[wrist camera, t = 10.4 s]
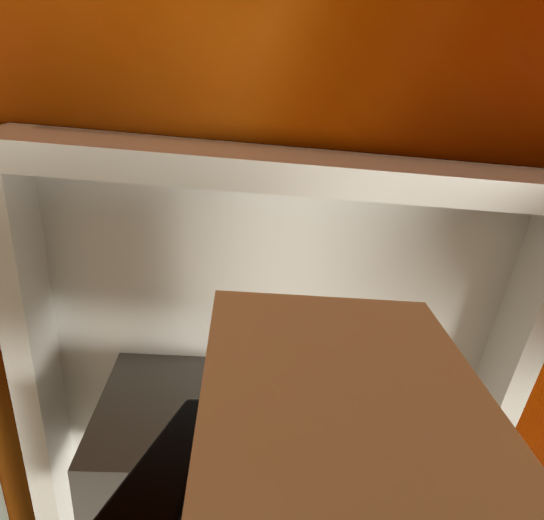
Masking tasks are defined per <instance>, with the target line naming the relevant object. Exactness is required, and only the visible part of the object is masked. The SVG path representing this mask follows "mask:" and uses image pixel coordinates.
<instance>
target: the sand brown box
mask: <svg viewBox="0 0 544 520" xmlns="http://www.w3.org/2000/svg"><path fill="white" fill-rule="evenodd" d="M181 520H544V467H543V466H542V464H541V463H540V462H539V460H538V459H537V458H536V456H535V455H534V453H533V452H532V451H531V449H530V448H529V446H528V445H527V444H526V442H525V441H524V439H523V438H522V437H521V435H520V434H519V432H518V431H517V430H516V428H515V427H514V425H513V424H512V423H511V421H510V420H509V419H508V417H507V416H506V414H505V413H504V412H503V410H502V409H501V407H500V406H499V405H498V403H497V402H496V400H495V399H494V398H493V396H492V395H491V393H490V392H489V391H488V389H487V388H486V386H485V385H484V384H483V382H482V381H481V380H480V378H479V377H478V375H477V374H476V373H475V371H474V370H473V368H472V367H471V366H470V364H469V363H468V361H467V360H466V359H465V357H464V356H463V354H462V353H461V352H460V350H459V349H458V347H457V346H456V345H455V343H454V342H453V340H452V339H451V338H450V336H449V335H448V334H447V332H446V331H445V329H444V328H443V327H442V325H441V324H440V322H439V321H438V320H437V318H436V317H435V315H434V314H433V313H432V311H431V310H430V308H429V307H428V306H427V304H426V303H425V302H411V301H394V300H377V299H360V298H343V297H326V296H309V295H291V294H274V293H257V292H240V291H223V290H215V296H214V303H213V310H212V317H211V323H210V330H209V337H208V344H207V350H206V357H205V364H204V371H203V377H202V384H201V391H200V398H199V404H198V411H197V418H196V425H195V431H194V438H193V445H192V452H191V458H190V465H189V472H188V479H187V485H186V492H185V499H184V506H183V512H182V519H181Z"/></svg>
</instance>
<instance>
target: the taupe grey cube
mask: <svg viewBox="0 0 544 520" xmlns="http://www.w3.org/2000/svg"><path fill="white" fill-rule="evenodd" d="M204 364H205V357H202V356H180V355H158V354H137V353H119V355H118V358H117V360H116V362H115V364H114V367H113V369H112V371H111V373H110V376H109V378H108V380H107V383H106V385H105V387H104V389H103V392H102V394H101V396H100V398H99V401H98V403H97V405H96V407H95V410H94V412H93V414H92V417H91V419H90V421H89V423H88V426H87V428H86V430H85V432H84V435H83V437H82V439H81V441H80V444H79V446H78V448H77V450H76V453H75V455H74V457H73V460H72V462H71V464H70V466H69V469H68V471H67V472H68V479H69V486H70V493H71V500H72V506H73V513H74V520H93V519H94V517H95V516H96V515H97V514H98V512H99V511H100V510H101V508H102V507H103V506H104V505H105V503H106V502H107V501H108V499H109V498H110V497H111V496H112V494H113V493H114V492H115V490H116V489H117V488H118V487H119V485H120V484H121V483H122V481H123V480H124V479H125V477H126V476H127V475H128V474H129V472H130V471H131V470H132V468H133V467H134V466H135V465H136V463H137V462H138V461H139V459H140V458H141V457H142V456H143V454H144V453H145V452H146V450H147V449H148V448H149V447H150V445H151V444H152V443H153V441H154V440H155V439H156V438H157V436H158V435H159V434H160V432H161V431H162V430H163V429H164V427H165V426H166V425H167V423H168V422H169V421H170V419H171V418H172V417H173V416H174V414H175V413H176V412H177V410H178V409H179V408H180V407H181V405H182V404H183V403H184V402H185V400H187V399H189V398H196V399H199V398H200V391H201V384H202V377H203V371H204Z"/></svg>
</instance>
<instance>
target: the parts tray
mask: <svg viewBox="0 0 544 520" xmlns="http://www.w3.org/2000/svg"><path fill="white" fill-rule="evenodd" d="M215 290H223V291H240V292H257V293H274V294H291V295H309V296H326V297H343V298H360V299H377V300H394V301H411V302H425V303H426V304H427V306H428V307H429V308H430V310H431V311H432V313H433V314H434V315H435V317H436V318H437V320H438V321H439V322H440V324H441V325H442V327H443V328H444V329H445V331H446V332H447V334H448V335H449V336H450V338H451V339H452V340H453V342H454V343H455V345H456V346H457V347H458V349H459V350H460V352H461V353H462V354H463V356H464V357H465V359H466V360H467V361H468V363H469V364H470V366H471V367H472V368H473V370H474V371H475V373H476V374H477V375H478V377H479V378H480V380H481V381H482V382H483V384H484V385H485V386H486V388H487V389H488V391H489V392H490V393H491V395H492V396H493V398H494V399H495V400H496V402H497V403H498V405H499V406H500V407H501V409H502V410H503V412H504V413H505V414H506V416H507V417H508V419H509V420H510V421H511V423H512V424H513V425H514V427H515V428H516V425H517V423H518V421H519V418H520V416H521V414H522V411H523V409H524V407H525V404H526V402H527V400H528V398H529V395H530V393H531V391H532V388H533V386H534V384H535V381H536V379H537V377H538V375H539V372H540V370H541V368H542V365H543V363H544V168H535V167H524V166H512V165H501V164H489V163H477V162H466V161H454V160H442V159H431V158H419V157H407V156H396V155H384V154H372V153H361V152H349V151H337V150H326V149H314V148H303V147H291V146H279V145H268V144H256V143H244V142H233V141H221V140H209V139H198V138H186V137H174V136H163V135H151V134H140V133H128V132H116V131H105V130H93V129H81V128H70V127H58V126H46V125H35V124H23V123H11V122H8V123H4V124H1V125H0V347H1V352H2V357H3V362H4V366H5V371H6V376H7V381H8V386H9V391H10V396H11V401H12V406H13V411H14V416H15V421H16V426H17V431H18V436H19V441H20V446H21V451H22V456H23V461H24V466H25V470H26V475H27V480H28V485H29V490H30V495H31V500H32V505H33V510H34V515H35V520H74V513H73V506H72V500H71V493H70V486H69V479H68V472H67V471H68V469H69V466H70V464H71V462H72V460H73V457H74V455H75V453H76V450H77V448H78V446H79V444H80V441H81V439H82V437H83V435H84V432H85V430H86V428H87V426H88V423H89V421H90V419H91V417H92V414H93V412H94V410H95V407H96V405H97V403H98V401H99V398H100V396H101V394H102V392H103V389H104V387H105V385H106V383H107V380H108V378H109V376H110V373H111V371H112V369H113V367H114V364H115V362H116V360H117V358H118V355H119V353H137V354H158V355H180V356H202V357H206V350H207V344H208V337H209V330H210V323H211V317H212V310H213V303H214V296H215Z"/></svg>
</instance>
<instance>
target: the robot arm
mask: <svg viewBox="0 0 544 520" xmlns="http://www.w3.org/2000/svg"><path fill="white" fill-rule="evenodd" d="M198 404H199V399H196V398H189V399H187V400H185V402H184V403H183V404H182V405H181V407H180V408H179V409H178V410H177V412H176V413H175V414H174V416H173V417H172V418H171V419H170V421H169V422H168V423H167V425H166V426H165V427H164V429H163V430H162V431H161V432H160V434H159V435H158V436H157V438H156V439H155V440H154V441H153V443H152V444H151V445H150V447H149V448H148V449H147V450H146V452H145V453H144V454H143V456H142V457H141V458H140V459H139V461H138V462H137V463H136V465H135V466H134V467H133V468H132V470H131V471H130V472H129V474H128V475H127V476H126V477H125V479H124V480H123V481H122V483H121V484H120V485H119V487H118V488H117V489H116V490H115V492H114V493H113V494H112V496H111V497H110V498H109V499H108V501H107V502H106V503H105V505H104V506H103V507H102V508H101V510H100V511H99V512H98V514H97V515H96V516H95V517H94V519H93V520H181V519H182V512H183V506H184V499H185V492H186V485H187V479H188V472H189V465H190V458H191V452H192V445H193V438H194V431H195V425H196V418H197V411H198Z"/></svg>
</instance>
